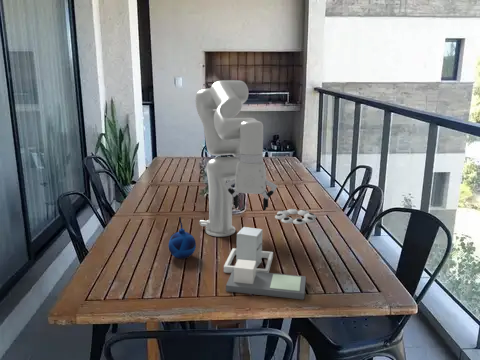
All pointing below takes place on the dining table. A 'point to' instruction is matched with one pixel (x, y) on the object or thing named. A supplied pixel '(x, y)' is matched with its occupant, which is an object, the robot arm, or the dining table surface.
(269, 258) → the white square frame
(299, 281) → the grey base with cube
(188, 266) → the dining table surface
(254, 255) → the supplement box
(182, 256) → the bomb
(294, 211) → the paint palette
